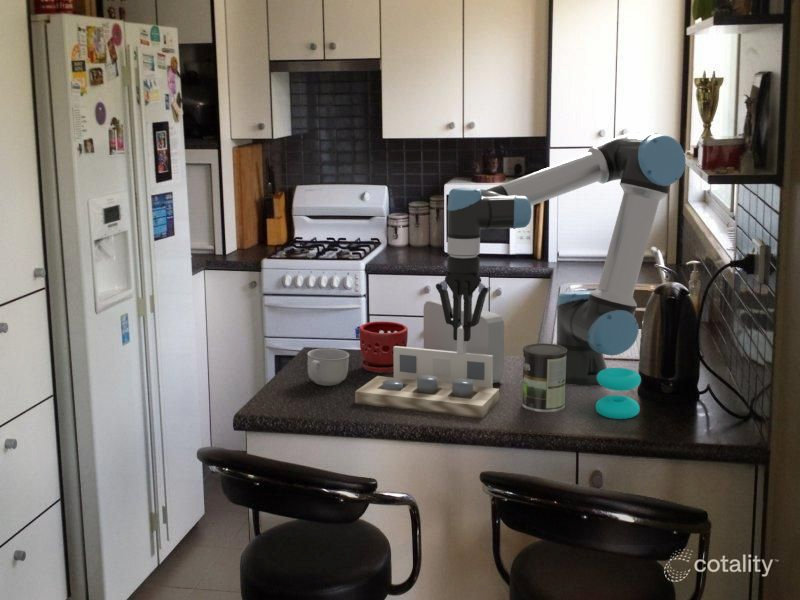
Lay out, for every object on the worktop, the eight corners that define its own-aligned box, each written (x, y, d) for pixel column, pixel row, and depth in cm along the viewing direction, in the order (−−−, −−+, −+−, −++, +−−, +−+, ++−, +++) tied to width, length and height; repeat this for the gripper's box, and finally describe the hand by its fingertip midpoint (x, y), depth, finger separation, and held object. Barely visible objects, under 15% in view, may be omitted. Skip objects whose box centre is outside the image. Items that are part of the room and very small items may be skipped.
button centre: (440, 388, 235) (440, 376, 234) (433, 394, 230) (433, 382, 230) (421, 386, 237) (421, 374, 236) (414, 391, 232) (414, 379, 232)
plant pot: (354, 374, 258) (353, 330, 255) (367, 361, 270) (366, 319, 268) (401, 377, 255) (401, 333, 252) (412, 364, 267) (412, 321, 265)
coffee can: (524, 412, 226) (525, 354, 223) (520, 399, 236) (521, 343, 233) (568, 412, 226) (570, 354, 223) (562, 399, 236) (564, 343, 233)
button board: (499, 400, 235) (499, 388, 234) (482, 418, 222) (482, 405, 221) (377, 387, 246) (377, 375, 246) (355, 403, 234) (355, 391, 233)
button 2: (476, 392, 232) (476, 380, 231) (469, 398, 227) (469, 385, 226) (456, 390, 233) (456, 378, 233) (449, 395, 229) (449, 383, 228)
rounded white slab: (510, 382, 250) (511, 314, 246) (487, 387, 246) (488, 318, 242) (445, 358, 273) (445, 296, 269) (423, 362, 269) (423, 299, 265)
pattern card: (494, 391, 242) (495, 353, 240) (489, 397, 237) (489, 358, 235) (398, 381, 251) (397, 344, 249) (391, 386, 247) (390, 348, 245)
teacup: (326, 374, 258) (325, 345, 257) (358, 380, 252) (357, 351, 250) (291, 387, 247) (290, 357, 245) (323, 394, 241) (323, 363, 239)
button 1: (406, 392, 239) (406, 380, 238) (398, 398, 234) (398, 386, 233) (387, 390, 240) (387, 378, 240) (379, 396, 236) (379, 384, 235)
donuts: (598, 365, 229) (642, 367, 226) (597, 405, 231) (640, 408, 228) (595, 376, 219) (640, 379, 217) (593, 418, 221) (638, 422, 219)
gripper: (495, 254, 224) (492, 352, 229) (442, 251, 229) (440, 347, 234) (485, 259, 218) (483, 360, 222) (431, 255, 222) (430, 355, 227)
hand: (461, 353), depth 228 cm, fingers closed
